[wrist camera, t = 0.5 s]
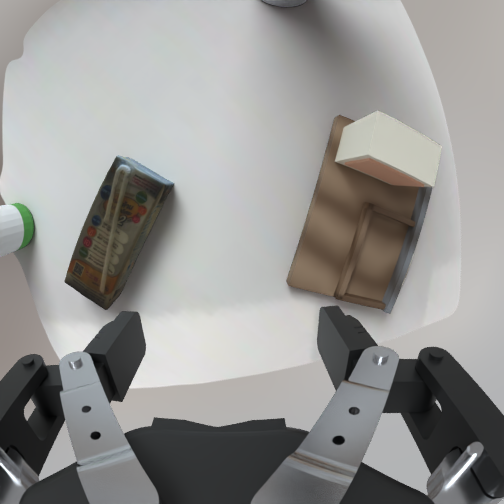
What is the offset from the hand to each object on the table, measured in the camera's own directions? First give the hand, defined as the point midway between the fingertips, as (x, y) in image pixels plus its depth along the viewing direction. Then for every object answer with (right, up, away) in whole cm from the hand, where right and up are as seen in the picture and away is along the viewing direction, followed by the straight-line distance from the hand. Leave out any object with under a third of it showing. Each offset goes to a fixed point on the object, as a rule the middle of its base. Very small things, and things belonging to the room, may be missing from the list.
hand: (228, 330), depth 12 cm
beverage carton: (-17, +7, +25) cm, 31 cm away
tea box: (+17, +16, +22) cm, 32 cm away
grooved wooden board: (+17, +9, +26) cm, 32 cm away
